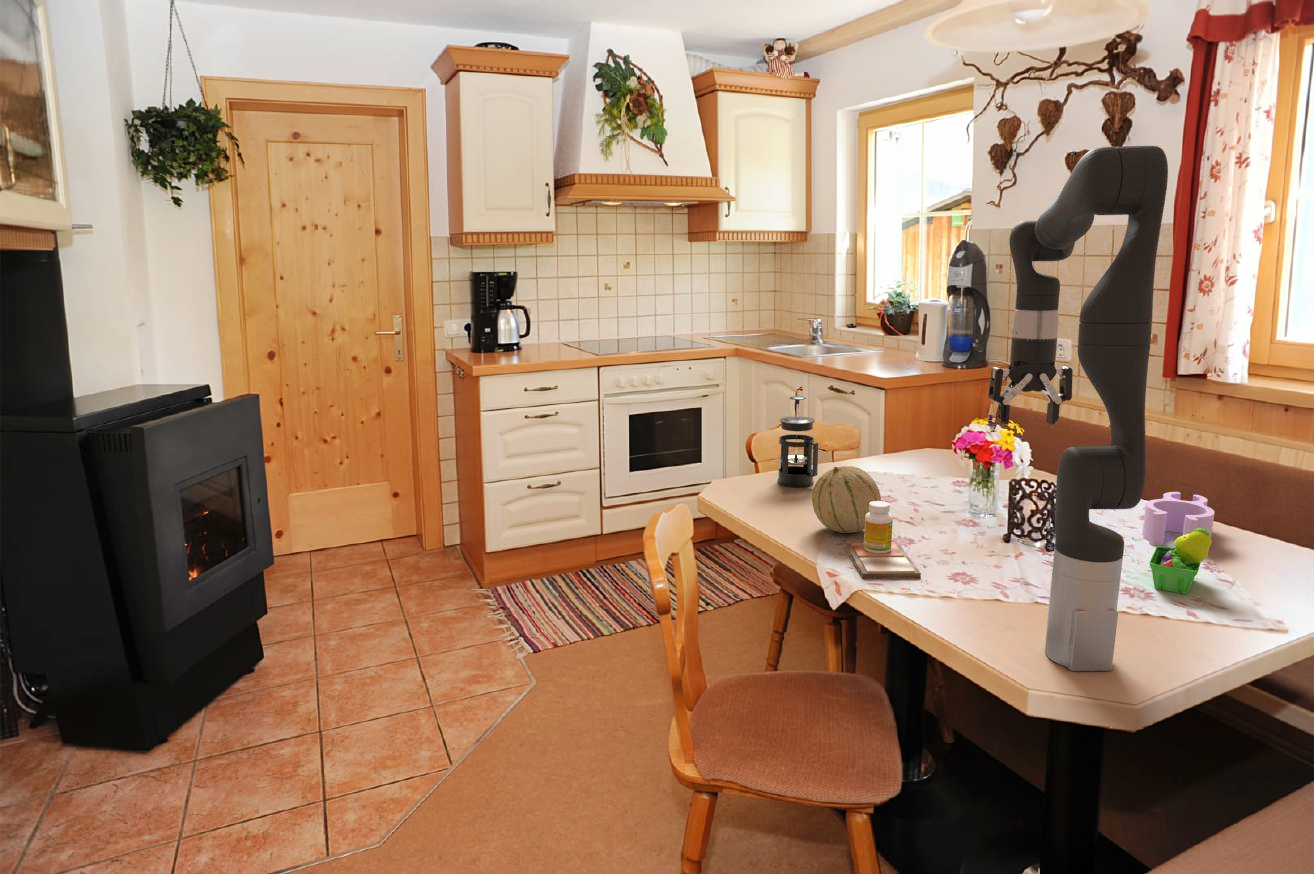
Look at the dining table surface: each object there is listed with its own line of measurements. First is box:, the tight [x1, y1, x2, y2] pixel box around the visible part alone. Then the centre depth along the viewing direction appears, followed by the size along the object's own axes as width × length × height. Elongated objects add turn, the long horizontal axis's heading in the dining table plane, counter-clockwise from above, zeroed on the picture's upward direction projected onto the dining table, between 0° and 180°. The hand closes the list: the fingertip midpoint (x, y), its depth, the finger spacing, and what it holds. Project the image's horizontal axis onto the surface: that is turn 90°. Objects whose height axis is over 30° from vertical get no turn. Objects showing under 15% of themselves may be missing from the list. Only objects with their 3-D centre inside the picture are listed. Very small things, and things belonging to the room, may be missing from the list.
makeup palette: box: [845, 542, 922, 579], centre depth 174 cm, size 16×11×1 cm
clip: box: [1141, 491, 1215, 546], centre depth 186 cm, size 20×12×7 cm, turn 143°
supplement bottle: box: [863, 500, 894, 554], centre depth 176 cm, size 5×5×10 cm
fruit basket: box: [1149, 528, 1213, 595], centre depth 160 cm, size 11×9×11 cm
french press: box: [777, 395, 819, 489], centre depth 227 cm, size 12×9×23 cm
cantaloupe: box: [811, 465, 882, 534], centre depth 191 cm, size 15×15×15 cm
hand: (1027, 423), depth 160 cm, fingers open, 8 cm apart
